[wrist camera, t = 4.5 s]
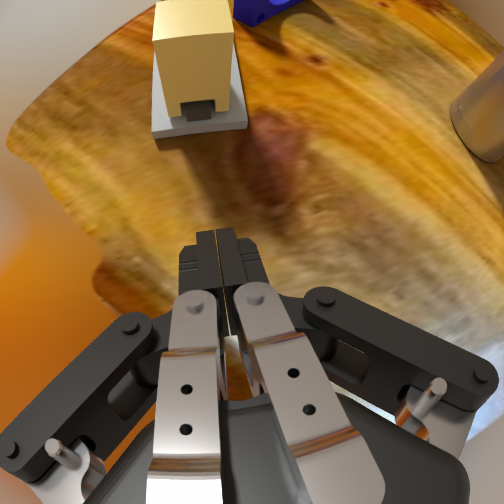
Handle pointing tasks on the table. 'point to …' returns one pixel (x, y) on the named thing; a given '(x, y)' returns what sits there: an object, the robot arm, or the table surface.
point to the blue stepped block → (259, 9)
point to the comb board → (199, 127)
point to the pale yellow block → (194, 52)
